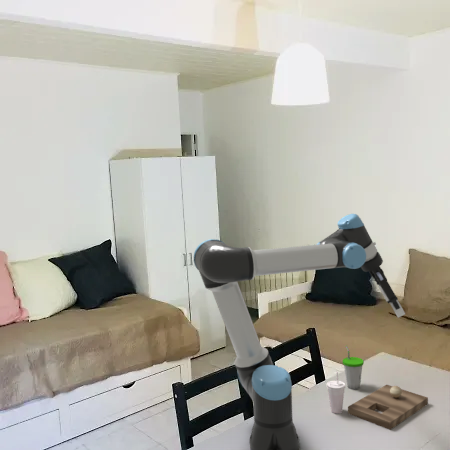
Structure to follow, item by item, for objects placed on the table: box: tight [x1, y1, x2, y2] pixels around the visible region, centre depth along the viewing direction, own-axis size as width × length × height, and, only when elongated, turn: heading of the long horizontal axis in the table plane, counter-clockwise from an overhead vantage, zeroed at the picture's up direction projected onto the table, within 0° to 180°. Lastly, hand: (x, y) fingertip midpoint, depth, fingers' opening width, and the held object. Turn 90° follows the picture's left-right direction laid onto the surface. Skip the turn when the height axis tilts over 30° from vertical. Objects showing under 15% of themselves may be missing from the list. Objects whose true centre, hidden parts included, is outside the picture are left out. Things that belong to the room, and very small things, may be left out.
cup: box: [342, 345, 364, 390], centre depth 196 cm, size 8×8×15 cm
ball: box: [390, 385, 403, 398], centre depth 180 cm, size 4×4×4 cm
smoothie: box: [325, 371, 346, 415], centre depth 177 cm, size 6×6×14 cm
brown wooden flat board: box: [347, 384, 429, 431], centre depth 177 cm, size 24×16×2 cm, turn 131°
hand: (395, 307), depth 178 cm, fingers open, 13 cm apart
